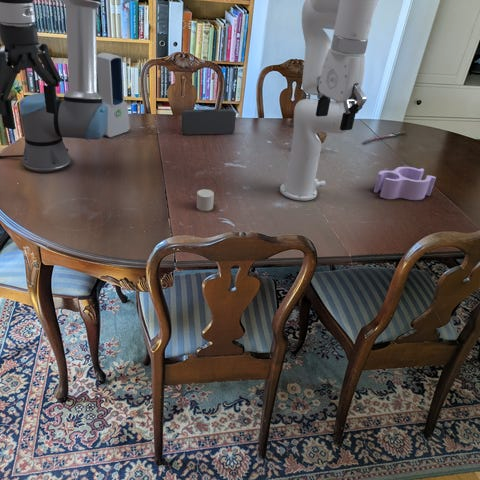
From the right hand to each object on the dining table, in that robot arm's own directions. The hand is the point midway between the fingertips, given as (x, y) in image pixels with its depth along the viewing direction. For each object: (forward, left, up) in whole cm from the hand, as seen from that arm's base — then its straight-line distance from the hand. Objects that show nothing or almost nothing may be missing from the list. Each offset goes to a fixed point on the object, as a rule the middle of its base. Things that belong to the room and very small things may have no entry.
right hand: (333, 122), depth 110 cm
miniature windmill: (-56, -90, -36) cm, 112 cm away
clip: (-53, -19, -36) cm, 67 cm away
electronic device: (+30, -99, -36) cm, 109 cm away
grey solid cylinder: (+18, -30, -36) cm, 51 cm away
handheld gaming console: (-8, -89, -36) cm, 96 cm away
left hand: (+63, -33, -6) cm, 72 cm away
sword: (-86, -65, -36) cm, 114 cm away
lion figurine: (-42, -62, -36) cm, 83 cm away
